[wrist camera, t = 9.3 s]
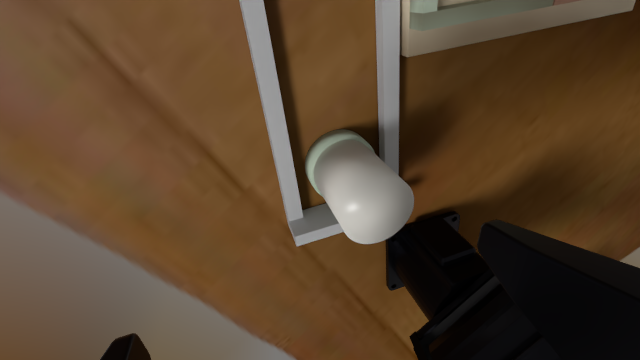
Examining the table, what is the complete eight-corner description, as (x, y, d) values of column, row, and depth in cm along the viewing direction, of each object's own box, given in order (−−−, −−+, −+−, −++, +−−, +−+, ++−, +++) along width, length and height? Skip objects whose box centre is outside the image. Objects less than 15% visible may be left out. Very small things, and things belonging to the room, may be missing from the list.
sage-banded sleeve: (369, 180, 23) (416, 232, 18) (309, 197, 23) (342, 257, 18) (366, 122, 21) (418, 163, 16) (299, 138, 20) (333, 188, 15)
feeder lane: (393, 192, 25) (410, 210, 23) (288, 224, 23) (296, 246, 21) (392, -75, 16) (419, -83, 14) (227, -55, 15) (232, -61, 13)
